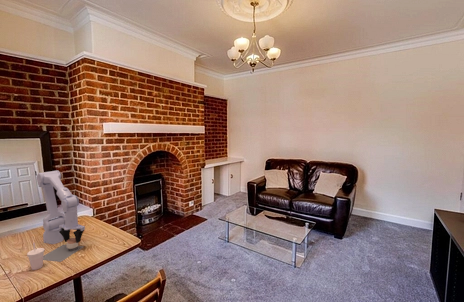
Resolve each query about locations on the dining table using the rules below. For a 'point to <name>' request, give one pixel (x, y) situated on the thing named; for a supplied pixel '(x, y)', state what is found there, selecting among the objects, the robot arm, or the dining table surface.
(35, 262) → the smoothie
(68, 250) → the knob mounting plate
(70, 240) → the cap
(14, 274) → the dining table surface
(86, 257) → the dining table surface
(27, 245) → the dining table surface
